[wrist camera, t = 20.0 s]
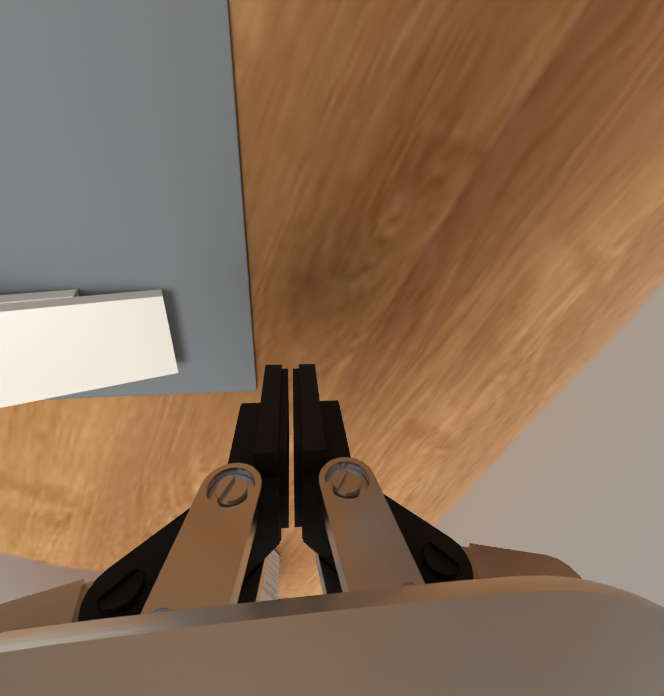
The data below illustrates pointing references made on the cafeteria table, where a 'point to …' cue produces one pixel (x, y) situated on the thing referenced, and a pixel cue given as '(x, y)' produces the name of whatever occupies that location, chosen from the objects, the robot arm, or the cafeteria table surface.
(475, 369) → the cafeteria table surface
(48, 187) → the slate mat
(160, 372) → the domino
